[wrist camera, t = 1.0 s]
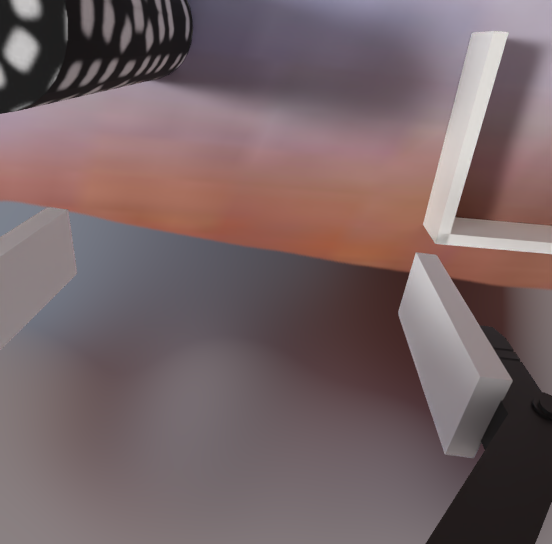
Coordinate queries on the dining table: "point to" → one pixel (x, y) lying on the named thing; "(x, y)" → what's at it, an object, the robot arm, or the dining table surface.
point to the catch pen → (459, 154)
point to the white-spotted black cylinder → (86, 47)
